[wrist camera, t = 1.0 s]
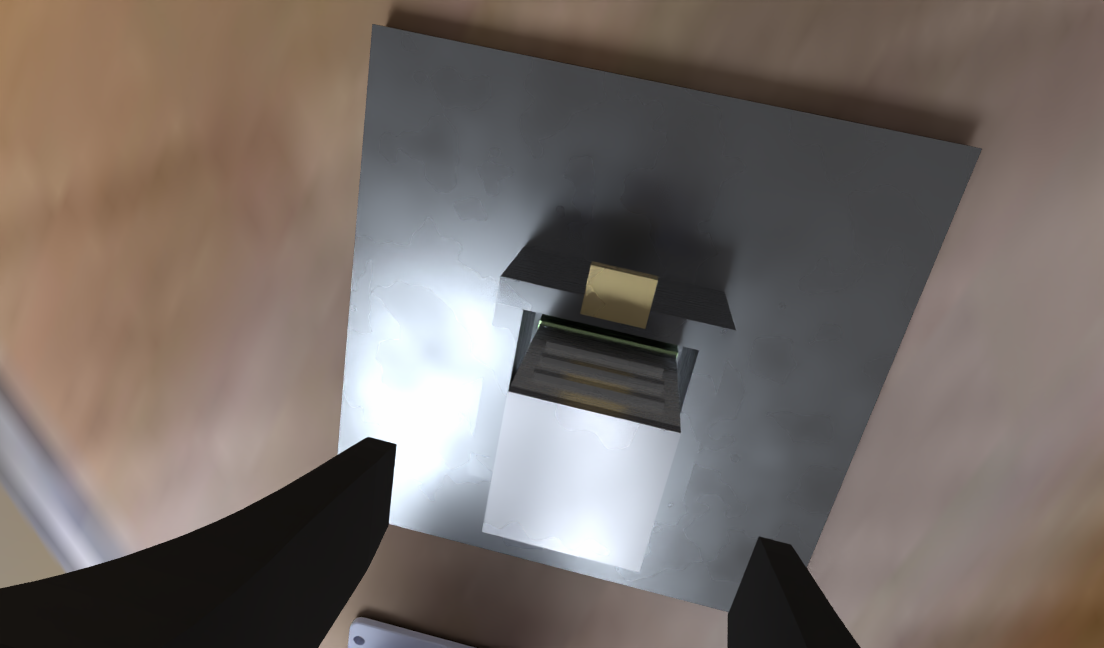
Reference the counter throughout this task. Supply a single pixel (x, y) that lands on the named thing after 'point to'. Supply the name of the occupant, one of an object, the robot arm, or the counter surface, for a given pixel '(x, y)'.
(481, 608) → the counter surface
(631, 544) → the column
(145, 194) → the counter surface
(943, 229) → the stand base
